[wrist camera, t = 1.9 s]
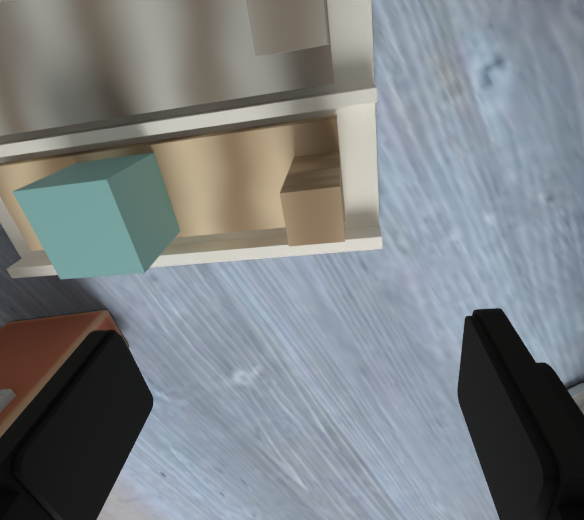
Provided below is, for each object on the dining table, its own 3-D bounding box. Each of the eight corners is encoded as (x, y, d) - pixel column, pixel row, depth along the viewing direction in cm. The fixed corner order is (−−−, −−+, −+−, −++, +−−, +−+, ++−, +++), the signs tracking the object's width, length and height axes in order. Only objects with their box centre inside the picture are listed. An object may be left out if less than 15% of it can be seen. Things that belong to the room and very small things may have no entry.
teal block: (154, 152, 25) (106, 179, 20) (180, 231, 28) (144, 272, 23) (76, 163, 26) (12, 191, 21) (109, 238, 29) (60, 279, 24)
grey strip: (321, -62, 20) (312, -129, 12) (333, 81, 23) (332, 96, 16) (-73, 27, 24) (-256, 17, 17) (-13, 136, 27) (-143, 169, 20)
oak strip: (336, 114, 24) (336, 144, 17) (345, 212, 27) (348, 274, 20) (1, 162, 28) (-118, 203, 21) (44, 242, 32) (-45, 301, 24)
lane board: (364, -126, 19) (368, -153, 17) (378, 231, 29) (382, 248, 27) (-117, -6, 25) (-170, -12, 22) (36, 261, 35) (12, 278, 32)
